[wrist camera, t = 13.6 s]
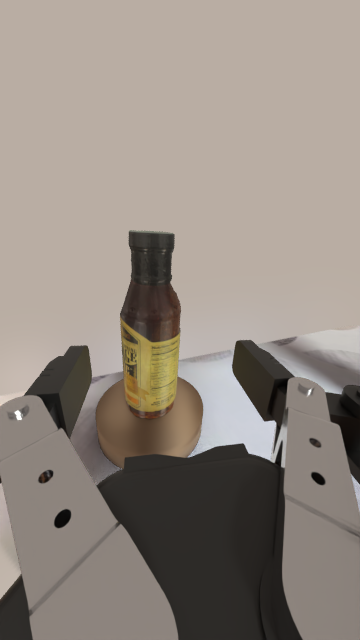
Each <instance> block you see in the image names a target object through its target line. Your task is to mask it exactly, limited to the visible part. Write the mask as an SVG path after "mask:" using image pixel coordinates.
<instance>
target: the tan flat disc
mask: <svg viewBox="0 0 360 640" xmlns="http://www.w3.org/2000/svg"><path fill="white" fill-rule="evenodd" d="M202 416H203V403H202V399H201V397H200V395H199V393H198V392H197V390H196V389H195V388H194V387H193V386H192V385H191V384H190V383H188V382H187V381H185V380H184V379H182V378H180V377H177V387H176V396H175V400H174V405H173V407H172V409H171V410H170V411H169V412H168V413H167V414H165V415H163V416H162V417H159V418H155V419H145V418H138V417H136V416H135V415H134V414H133V413H132V412H131V411H130V410H129V408H128V406H127V403H126V399H125V390H124V379H123V380H121V381H119V382H117V383H116V384H114V385H113V386H112V387H110V388H109V389H108V390H107V391H106V392H105V393H104V395H103V396H102V397H101V399H100V401H99V403H98V406H97V409H96V424H97V432H98V439H99V444H100V447H101V450H102V451H103V453H104V455H105V456H106V457H107V458H108V459H109V460H110V461H111V462H112V463H113V464H115V465H116V466H118V467H120V468H122V469H124V460H125V457H133V456H142V455H150V454H161V455H169V456H176V457H183V458H186V457H188V456H189V455H190V453H191V452H192V451H193V450H194V448H195V446H196V445H197V443H198V440H199V437H200V434H201V425H202Z"/></svg>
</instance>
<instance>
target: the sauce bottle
mask: <svg viewBox="0 0 360 640" xmlns="http://www.w3.org/2000/svg"><path fill="white" fill-rule="evenodd" d="M129 246H130V249H131V253H132V254H131V262H132V273H131V282H130V285H129V289H128V292H127V295H126V298H125V302H124V305H123V307H122V311H121V313H120V320H121V338H122V355H123V372H124V390H125V399H126V403H127V406H128V408H129V410H130V411H131V412H132V413H133V414H134V415H135V416H136V417H138V418H145V419H155V418H159V417H162V416H163V415H165V414H167V413H168V412H169V411H170V410H171V409H172V407H173V405H174V400H175V396H176V387H177V373H178V358H179V343H180V327H179V326H180V313H181V306H180V303H179V300H178V297H177V294H176V293H175V291H174V290H173V288H172V286H171V284H170V281H171V279H172V275H171V258H172V252H173V249H174V234H173V233H168V232H154V231H134V230H133V231H132V230H130V231H129Z"/></svg>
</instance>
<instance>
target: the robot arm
mask: <svg viewBox="0 0 360 640" xmlns="http://www.w3.org/2000/svg"><path fill="white" fill-rule="evenodd" d="M232 369H233V373H234V375H235V377H236V379H237V380H238V382H239V383H240V385H241V386H242V388H243V389H244V391H245V392H246V394H247V396H248V397H249V399H250V400H251V402H252V403H253V405H254V406H255V408H256V409H257V411H258V413H259V414H260V416H261V417H262V419H263V420H264V421H273V420H275V422H276V426H275V430H274V438H273V446H272V453H271V461H269V460H267V459H265V458H262V457H260V456H256V455H252V454H248V452H247V450H246V447H245V445H244V443H243V444H234V445H226V446H218V447H214V448H212V449H209V450H207V451H205V452H202V453H200V454H197V455H195V456H193V457H190V458H183V457H176V456H169V455H161V454H150V455H142V456H133V457H125V460H124V469H122V470H120V471H117V472H116V473H114V474H112V475H110V476H109V477H107V478H106V479H104V480H103V481H101V482H100V483H99V484H98V485H97V486H96V485H95V483H94V481H93V480H92V478H91V476H90V474H89V473H88V471H87V469H86V468H85V466H84V464H83V462H82V461H81V459H80V457H79V455H78V454H77V452H76V450H75V449H74V447H73V445H72V443H71V442H70V440H69V439H70V436H71V434H72V431H73V429H74V426H75V423H76V421H77V418H78V415H79V413H80V410H81V408H82V405H83V402H84V400H85V397H86V394H87V392H88V389H89V387H90V384H91V379H92V371H91V363H90V356H89V349H88V346H70V347H69V349H68V350H67V352H66V353H65V355H64V356H58V357H57V358H55V359H54V360H52V361H51V362H50V363H49V364H48V365H47V366H46V368H45V369H44V371H42V373H41V374H40V376H39V377H38V378H37V379H36V380H35V382H34V383H33V384H32V386H31V387H30V388H29V389H28V391H27V392H26V393H25V395H24V396H21V397H18V398H15V399H12V400H10V401H8V402H6V403H5V404H3V405H2V406H0V483H2V485H3V490H4V495H5V499H6V504H7V508H8V513H9V518H10V522H11V527H12V531H13V536H14V541H15V545H16V550H17V554H18V559H19V564H20V568H21V573H22V574H21V575H20V576H19V578H18V579H17V580H16V581H15V582H14V584H13V585H12V586H11V587H10V588H9V590H8V591H7V592H6V593H5V595H4V596H3V597H2V598H1V599H0V640H360V512H359V508H358V504H357V499H356V495H355V490H354V486H353V482H352V477H351V474H352V476H353V477H354V478H355V479H356V480H357V482H358V483H359V484H360V386H356V385H347V386H345V387H344V389H343V392H342V394H334V393H328V392H325V391H324V389H323V388H322V387H321V386H319V385H318V384H317V383H315V382H313V381H311V380H308V379H305V378H300V377H294V376H293V375H292V374H291V373H290V372H289V371H288V370H287V369H286V368H285V367H284V366H283V365H282V364H280V363H279V362H278V361H277V360H276V359H275V358H274V357H273V356H272V355H271V354H270V353H268V352H267V351H265V350H263V349H261V348H259V347H258V346H257V345H256V344H255V343H254V342H253V341H251V340H240V341H237V342H236V345H235V351H234V357H233V364H232Z"/></svg>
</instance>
